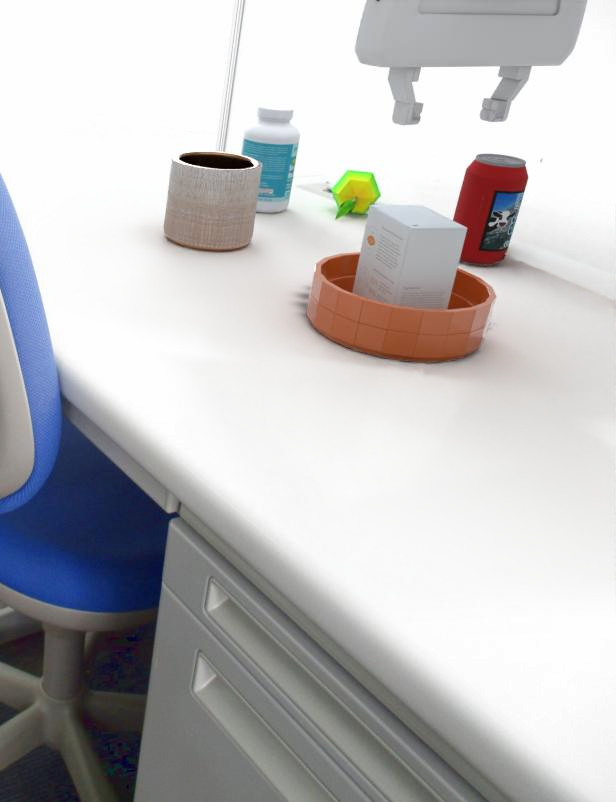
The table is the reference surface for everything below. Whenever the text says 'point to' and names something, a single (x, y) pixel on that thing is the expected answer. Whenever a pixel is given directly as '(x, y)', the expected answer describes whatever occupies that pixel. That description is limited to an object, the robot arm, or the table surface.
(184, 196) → the planter
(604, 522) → the table surface
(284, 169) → the pill bottle
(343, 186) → the apple
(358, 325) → the pan
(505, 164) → the beverage can
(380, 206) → the small box
